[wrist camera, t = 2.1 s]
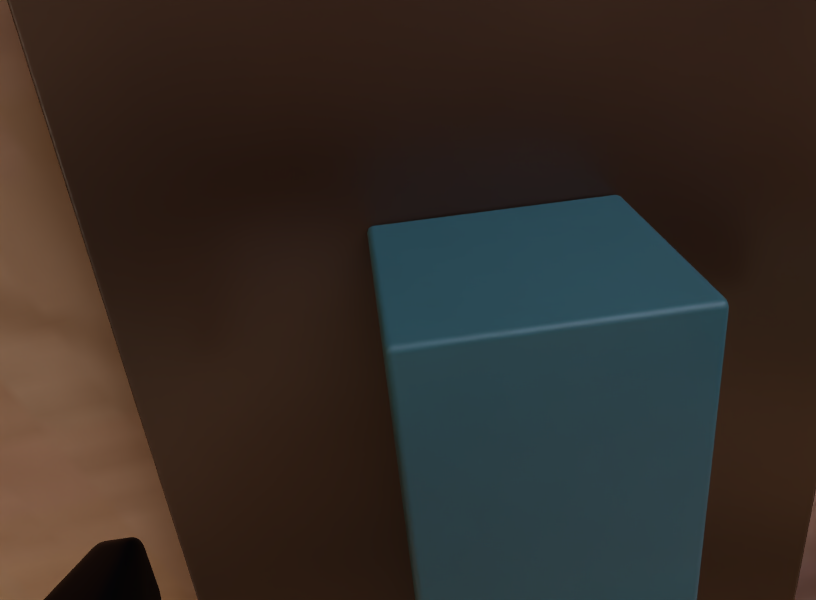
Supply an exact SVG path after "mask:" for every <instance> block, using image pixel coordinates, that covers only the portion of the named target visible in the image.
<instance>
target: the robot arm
mask: <svg viewBox="0 0 816 600" xmlns="http://www.w3.org/2000/svg"><path fill="white" fill-rule="evenodd" d="M44 600H161V596H160V591H159V588H158V585H157V582H156V579H155V576H154V573H153V570H152V568H151V565H150V562H149V559H148V556H147V553H146V550H145V548H144V545H143V544H142V542H141V541H140V540H139V539H137V538H134V537H130V538H123V539H116V540H109V541H104V542H101V543H99V544H97V545H96V546H95V547H93V548H92V549H91V550H90V551H89V553H88V554H87V555H86V556H85V557H84V558H83V559H82V560H81V561H80V562H79V563H78V564H77V565H76V566H75V567H74V568H73V569H72V570H71V571H70V573H69V574H68V575H67V576H66V577H65V578H64V579H63V580H62V581H61V582H60V583H59V584H58V585H57V586H56V587H55V588H54V589H53V590H52V591H51V592H50V594H49V595H48V596H47V597H46V598H45V599H44Z"/></svg>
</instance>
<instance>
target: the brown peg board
mask: <svg viewBox="0 0 816 600" xmlns="http://www.w3.org/2000/svg"><path fill="white" fill-rule="evenodd" d="M7 2H8V5H9V8H10V11H11V14H12V17H13V21H14V24H15V27H16V30H17V33H18V36H19V39H20V43H21V46H22V49H23V52H24V55H25V58H26V61H27V64H28V68H29V71H30V74H31V77H32V80H33V83H34V86H35V90H36V93H37V96H38V99H39V102H40V105H41V108H42V112H43V115H44V118H45V121H46V124H47V127H48V130H49V134H50V137H51V140H52V143H53V146H54V149H55V152H56V156H57V159H58V162H59V165H60V168H61V171H62V174H63V178H64V181H65V184H66V187H67V190H68V193H69V196H70V199H71V203H72V206H73V209H74V212H75V215H76V218H77V221H78V225H79V228H80V231H81V234H82V237H83V240H84V243H85V247H86V250H87V253H88V256H89V259H90V262H91V265H92V269H93V272H94V275H95V278H96V281H97V284H98V287H99V291H100V294H101V297H102V300H103V303H104V306H105V309H106V312H107V316H108V319H109V322H110V325H111V328H112V331H113V334H114V338H115V341H116V344H117V347H118V350H119V353H120V356H121V360H122V363H123V366H124V369H125V372H126V375H127V378H128V382H129V385H130V388H131V391H132V394H133V397H134V400H135V404H136V407H137V410H138V413H139V416H140V419H141V422H142V426H143V429H144V432H145V435H146V438H147V441H148V444H149V447H150V451H151V454H152V457H153V460H154V463H155V466H156V469H157V473H158V476H159V479H160V482H161V485H162V488H163V491H164V495H165V498H166V501H167V504H168V507H169V510H170V513H171V517H172V520H173V523H174V526H175V529H176V532H177V535H178V539H179V542H180V545H181V548H182V551H183V554H184V557H185V560H186V564H187V567H188V570H189V573H190V576H191V579H192V582H193V586H194V589H195V592H196V595H197V598H198V600H415V593H414V585H413V578H412V570H411V562H410V555H409V547H408V540H407V532H406V524H405V517H404V509H403V502H402V494H401V486H400V479H399V471H398V464H397V456H396V448H395V441H394V433H393V426H392V418H391V410H390V403H389V395H388V388H387V380H386V372H385V365H384V357H383V350H382V342H381V334H380V327H379V319H378V312H377V304H376V296H375V289H374V281H373V274H372V266H371V259H370V251H369V243H368V236H367V232H368V229H369V228H370V227H372V226H376V225H384V224H392V223H400V222H408V221H415V220H423V219H431V218H439V217H447V216H454V215H462V214H470V213H478V212H485V211H493V210H501V209H509V208H517V207H524V206H532V205H540V204H548V203H556V202H563V201H571V200H579V199H587V198H595V197H602V196H610V195H618V196H621V197H622V198H623V199H624V200H625V201H626V202H627V203H628V204H629V205H630V206H631V207H632V208H633V209H634V210H635V211H636V212H637V213H638V214H639V215H640V216H641V217H642V218H643V219H644V220H645V221H646V222H647V223H648V224H649V225H651V226H652V227H653V228H654V229H655V230H656V231H657V232H658V233H659V234H660V235H661V236H662V237H663V238H664V239H665V240H666V241H667V242H668V243H669V244H670V245H671V246H672V247H673V248H674V249H675V250H676V251H677V252H678V253H679V254H680V255H681V256H682V257H683V258H684V259H685V260H686V261H688V262H689V263H690V264H691V265H692V266H693V267H694V268H695V269H696V270H697V271H698V272H699V273H700V274H701V275H702V276H703V277H704V278H705V279H706V280H707V281H708V282H709V283H710V284H711V285H712V286H713V287H714V288H715V289H716V290H717V291H718V292H719V293H720V294H721V295H722V296H723V297H725V298H726V299H727V302H728V305H729V312H728V321H727V330H726V339H725V348H724V357H723V366H722V375H721V384H720V394H719V403H718V412H717V421H716V430H715V439H714V448H713V457H712V466H711V475H710V484H709V493H708V502H707V512H706V521H705V530H704V539H703V548H702V557H701V566H700V575H699V584H698V593H697V600H794V599H795V593H796V588H797V583H798V578H799V573H800V568H801V563H802V557H803V552H804V547H805V542H806V537H807V532H808V526H809V521H810V516H811V511H812V506H813V501H814V496H815V490H816V0H7Z"/></svg>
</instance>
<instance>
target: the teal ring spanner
mask: <svg viewBox="0 0 816 600" xmlns="http://www.w3.org/2000/svg"><path fill="white" fill-rule="evenodd" d="M367 236H368V243H369V251H370V259H371V266H372V274H373V281H374V289H375V296H376V304H377V312H378V319H379V327H380V334H381V342H382V350H383V357H384V365H385V372H386V380H387V388H388V395H389V403H390V410H391V418H392V426H393V433H394V441H395V448H396V456H397V464H398V471H399V479H400V486H401V494H402V502H403V509H404V517H405V524H406V532H407V540H408V547H409V555H410V562H411V570H412V578H413V585H414V593H415V600H697V593H698V584H699V575H700V566H701V557H702V548H703V539H704V530H705V521H706V512H707V502H708V493H709V484H710V475H711V466H712V457H713V448H714V439H715V430H716V421H717V412H718V403H719V394H720V384H721V375H722V366H723V357H724V348H725V339H726V330H727V321H728V312H729V305H728V302H727V299H726V298H725V297H723V296H722V295H721V294H720V293H719V292H718V291H717V290H716V289H715V288H714V287H713V286H712V285H711V284H710V283H709V282H708V281H707V280H706V279H705V278H704V277H703V276H702V275H701V274H700V273H699V272H698V271H697V270H696V269H695V268H694V267H693V266H692V265H691V264H690V263H689V262H688V261H686V260H685V259H684V258H683V257H682V256H681V255H680V254H679V253H678V252H677V251H676V250H675V249H674V248H673V247H672V246H671V245H670V244H669V243H668V242H667V241H666V240H665V239H664V238H663V237H662V236H661V235H660V234H659V233H658V232H657V231H656V230H655V229H654V228H653V227H652V226H651V225H649V224H648V223H647V222H646V221H645V220H644V219H643V218H642V217H641V216H640V215H639V214H638V213H637V212H636V211H635V210H634V209H633V208H632V207H631V206H630V205H629V204H628V203H627V202H626V201H625V200H624V199H623V198H622V197H621V196H618V195H610V196H602V197H595V198H587V199H579V200H571V201H563V202H556V203H548V204H540V205H532V206H524V207H517V208H509V209H501V210H493V211H485V212H478V213H470V214H462V215H454V216H447V217H439V218H431V219H423V220H415V221H408V222H400V223H392V224H384V225H376V226H372V227H370V228H369V229H368V232H367Z"/></svg>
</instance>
